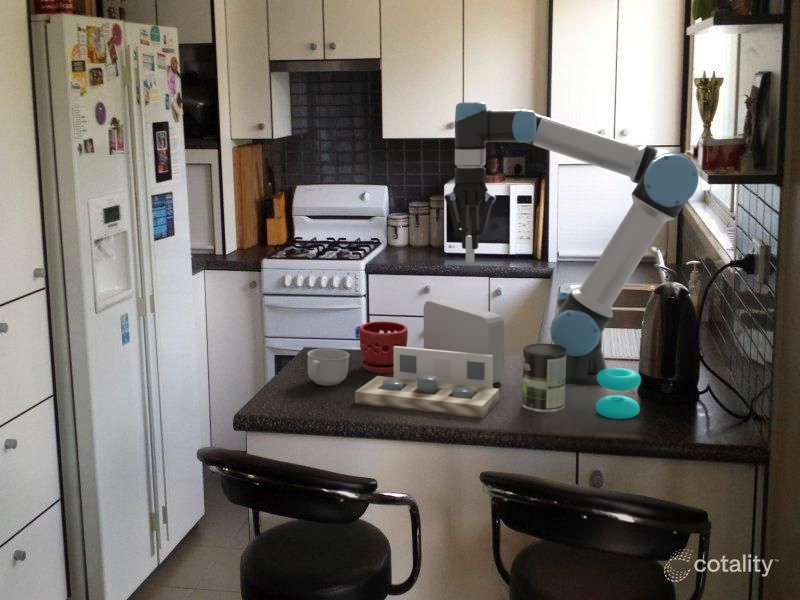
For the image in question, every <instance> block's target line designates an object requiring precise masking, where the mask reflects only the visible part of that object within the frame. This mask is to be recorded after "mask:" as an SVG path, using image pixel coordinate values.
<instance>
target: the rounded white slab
mask: <svg viewBox="0 0 800 600" xmlns="http://www.w3.org/2000/svg"><path fill="white" fill-rule="evenodd" d="M504 321H505V320H504V319H503V317H502V316H501V314H499V313H495V312H492V311H488V310H484V309H481V308H478V307H474V306H470V305H468V304H464V303H460V302H456V301H453V300H450V299H446V298H440V299H433V300H428V301H427V300H426V301H425V303H424V304H423V349H433V350H443V351H454V352H465V353H475V354H486V355H493V384H495V383H500V382H501V381H502V380H503V379H504V375H505V373H504V371H505V370H504V369H505V367H504V366H505V322H504Z"/></svg>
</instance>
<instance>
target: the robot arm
mask: <svg viewBox="0 0 800 600" xmlns="http://www.w3.org/2000/svg"><path fill="white" fill-rule="evenodd" d="M454 117H455V118H454V120H453V121H454V165H455V166H457V167H455V168H454V186H453V188H452V191H450V193H447V194H445V195H444V196H443V198H444V200H445V202H446V203H447V206H448V209H449V214H450V217H451V223H452V226H453V231H454V233H455V234H458V235H459V236H461V248H462V249H463V250H465V264H467V263H468V264H472V263H474V262H475V250H477V249H478V248H479V237H480V236H481V235H484V234H485V233H486V232H487V228H488V224H489V221H490V215H491V213H492V208H493V204H494V203H495V202H496V200H497V196H496V195H495V194H492V193H490V192H489V191H488V187H487V186H486V180H487V179H486V177H487V175H486V173H487V170H486V168H485V167H484V166H485V165H486V160H487V151H486V150H487V147H486V144H487V143H493V142H495V143H496V142H497V143H503V142H504V143H520V144H521V143H526V144H529V145H532V146H535V147H538V148H542V149H544V150H547V151H550V152H553V153H557V154H559V155H562V156H566V157H569V158H571V159H575V160H577V161H581V162H584V163H586V164H590V165H593V166H596V167H599V168H602V169H604V170H608V171H610V172H614V173H617V174H620V175H623V176H626V177H628V178H630V181H631V182H632V183H635V184H636V186H635V188H634V189H633V191H632V192H631V198H632V205H631V207H630V208H629V210H628V211H627V213H626V214H625V216H624V218H623V219H622V221H621V222H620V224H619V225H618V227H617V229H616V231H614V234H613V235H612V237H611V238H610V240H609V241H608V243H607V245H606V247H605V248H604V250H603V252H601V255H600V256H599V258H598V260H597V261H596V263H595V264H594V266H593V267H592V269H591V271H590V272H589V273H588V276H587V277H586V279H585V280H584V282H583V284H581V287H580V288H576V289H573V290H563V291H560V292H559V293H558V294H557V300H556V303H557V310H556V311H557V312H556V314H555V316H554V318H553V320H552V321H551V324H550V328H549V329H550V330H549V331H550V332H549V333H550V338H551V340H552V344H555V345H560V346H563V347H565V348H566V349H567V354H566V377H565V385H572V386H594V385H595V386H596V385H600V384H599V383H598V381H597V374H598V373H599V372H600V371H601V370H604V369H608V367H607V363H606V361H605V360H606V359H605V356H604V354H603V349H602V348H603V342H602V341H603V333H604V331H605V329H606V328H607V325H608V324H609V323H610V321H611V319H612V318H613V317H614V313H613V310H612V306H613V304H614V303H615V302H616V300H617V298H618V297H619V295H620V294H621V292H622V290H623V289H624V287H625V285H626V284H627V283H628V280H629V279H630V277H632V274H634V271H635V270H636V269H637V267H638V265H639V263H640V262H641V260H642V259H643V257H644V256H645V254H646V252H647V251H648V250H649V249H650V247H651V245H652V243H653V242H654V240H655V239H656V237H657V235H658V234H659V232H660V231H661V229H662V227H663V226H664V225H665V223H666V222H669V221H673V220H675V219H676V218H677V217H678V215H679V213H680V212H681V210H682V209H683V207H685V206H684V205H685V204H686V203H687V201H689V200H690V199H691V198H692V197H693V196H694V194H695V192H696V191H697V189H698V185H699V172H698V169H697V166H696V165H695V163H694V162H693V161H692V159H691V158H690V157H689V156H688V155H686V154H685V153H683V152H681V151H678V150H671V149H664V148H660V147H654V146H651V145H648V144H644V145H641V146H638V145H636V144H635V145H633V144H631V143H628V142H624V141H622V140H618V139H615V138H612V137H610V136H606V135H603V134H600V133H597V132H593V131H590V130H586V129H584V128H581V127H578V126H575V125H572V124H568V123H566V122H561V121H559V120H555V119H553V118H550V117H547V116H543V115H540V114H537V113H536V112H535V111H534V110H532V109H531V110H528V109H525V108H515V109H502V110H490V109H488V107H487V105H486V103H485V102H483V101H482V102H479V101H477V102H475V101H474V102H471V101H468V102H467V101H466V102H459V103H457V104H456V105H455V114H454ZM484 197H485V199H484ZM456 199H457V200H458V201H459V203H460V209H461V213H460V215H461V219H460V216H459V212H458V207H457V203H456ZM483 199H484V201H485V204H484V208H483V212H482V216H481V219H480V203H481V202H482V200H483ZM470 209H471V210H470ZM470 211H471V234H470V228H469V227H470Z"/></svg>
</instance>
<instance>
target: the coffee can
mask: <svg viewBox="0 0 800 600" xmlns="http://www.w3.org/2000/svg"><path fill="white" fill-rule="evenodd" d="M522 352H523V353H522V354H523V358H522V361H523V363H522V367H523V369H522V403H521V405H522V407H523V408H524V409H526V410H528V411H531V412H535V413H536V412H537V413H555V412H560V411H563V409H565V406H566V404H565V402H566V401H565V399H566V384H565V377H566V354H567V349H566V348H565V347H563V346H560V345H555V344H554V343H543V342H542V343H531V344H527V345H525V346H523V348H522Z"/></svg>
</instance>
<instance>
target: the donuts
mask: <svg viewBox="0 0 800 600" xmlns="http://www.w3.org/2000/svg"><path fill="white" fill-rule="evenodd" d="M597 381H598V383H599V384H598V385H599V386H601V387H603V388H605V389H607V390H610V391H619V392H620V391H621V392H622V391H623V392H624V391H625V392H626V391H631V390H634V389H636V388H637V387H639V385H640V384H641V383H642V378H641V375H640V374H639V373H638V372H637V371H636V370H632V369H630V368H629V369H628V368H623V367H610V368H609V367H607V369H604V370H601V371H600V372H599V373H598V374H597ZM595 410H596V412H597V413H598V414H599V415H601V416H603V417H605V418H609V419H615V420H617V419H618V420H625V419H626V420H627V419H631V418H635V417H636V416H637V415H638V414H639V413H640V411H641V408H640V404H639V403H638V402H637V401H636V400H635V399H633V398H631V397H629V396H624V395H618V394H617V395H616V394H615V395H611V394H610V395H605V396H603V397H600V398H599V399H598V400H597V402H596V404H595Z"/></svg>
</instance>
